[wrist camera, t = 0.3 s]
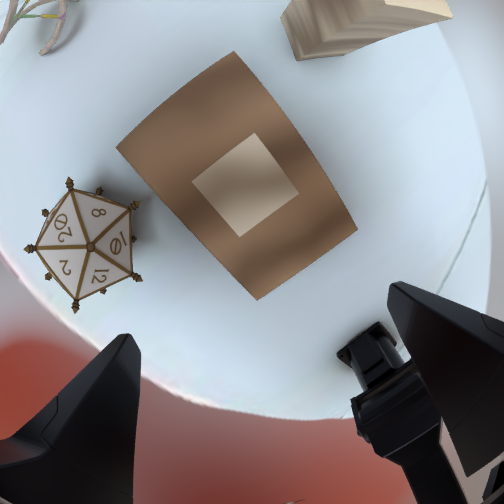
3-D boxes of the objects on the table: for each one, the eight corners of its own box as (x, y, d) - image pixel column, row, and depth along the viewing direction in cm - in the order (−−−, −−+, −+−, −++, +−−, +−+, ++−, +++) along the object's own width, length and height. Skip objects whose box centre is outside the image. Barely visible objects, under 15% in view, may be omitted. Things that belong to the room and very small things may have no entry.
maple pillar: (343, 55, 16) (453, 18, 5) (296, 60, 16) (386, 4, 5) (328, 13, 14) (418, -49, 3) (280, 17, 14) (345, -68, 3)
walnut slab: (347, 220, 22) (358, 229, 20) (254, 287, 24) (257, 301, 22) (232, 57, 15) (233, 50, 13) (124, 144, 17) (114, 147, 15)
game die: (101, 207, 23) (6, 208, 14) (160, 165, 19) (39, 145, 10) (122, 300, 22) (25, 327, 13) (189, 281, 19) (61, 318, 10)
